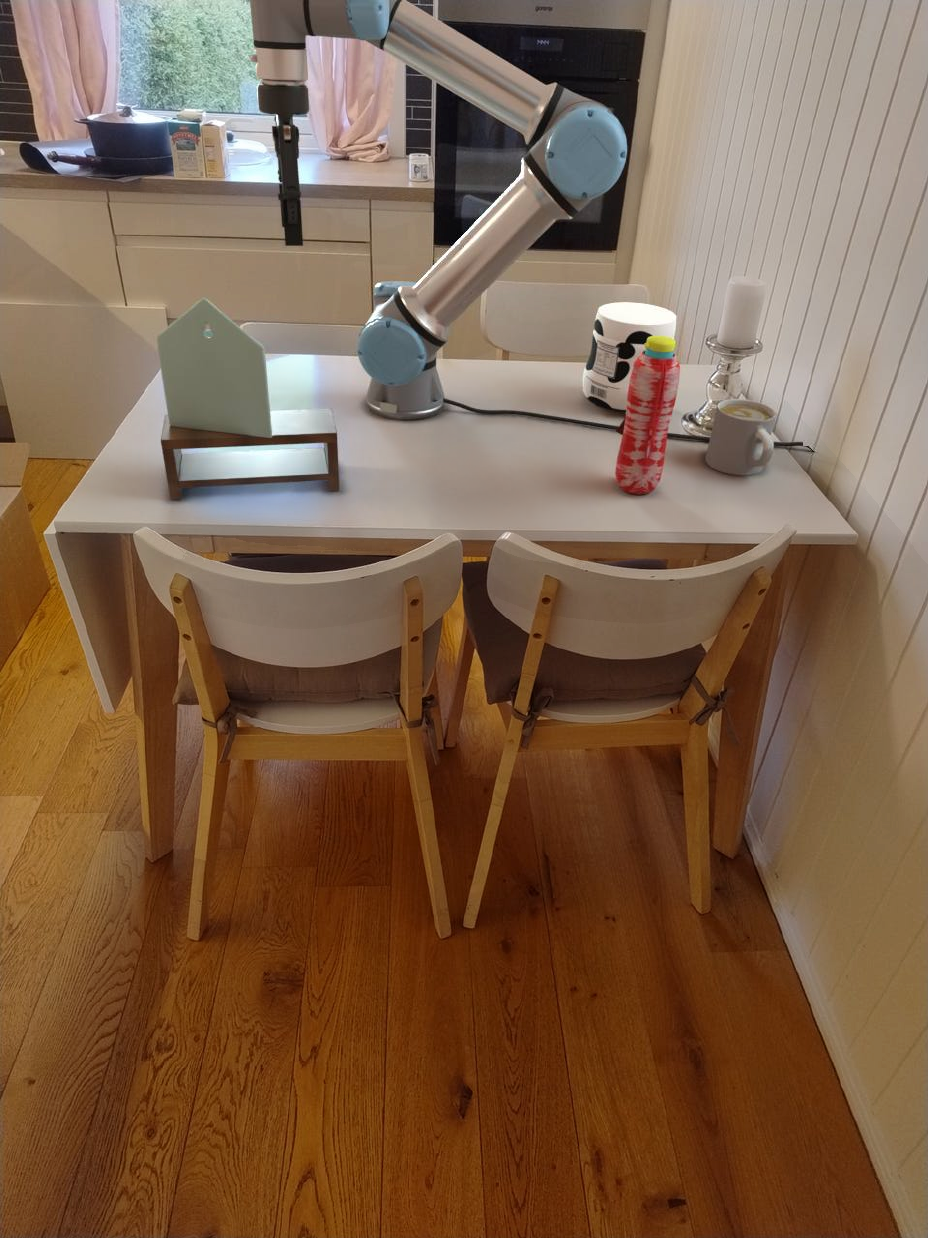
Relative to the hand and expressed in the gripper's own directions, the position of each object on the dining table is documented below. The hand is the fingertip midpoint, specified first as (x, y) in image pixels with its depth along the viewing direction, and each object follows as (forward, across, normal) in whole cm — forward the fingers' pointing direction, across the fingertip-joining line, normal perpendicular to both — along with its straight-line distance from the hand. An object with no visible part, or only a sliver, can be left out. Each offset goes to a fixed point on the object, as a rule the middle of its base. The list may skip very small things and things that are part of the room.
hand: (292, 235), depth 142 cm
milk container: (+33, -5, +64) cm, 72 cm away
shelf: (+33, +22, -9) cm, 40 cm away
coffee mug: (+33, +26, +74) cm, 85 cm away
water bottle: (+33, +30, +53) cm, 69 cm away
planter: (+23, +21, -12) cm, 34 cm away
